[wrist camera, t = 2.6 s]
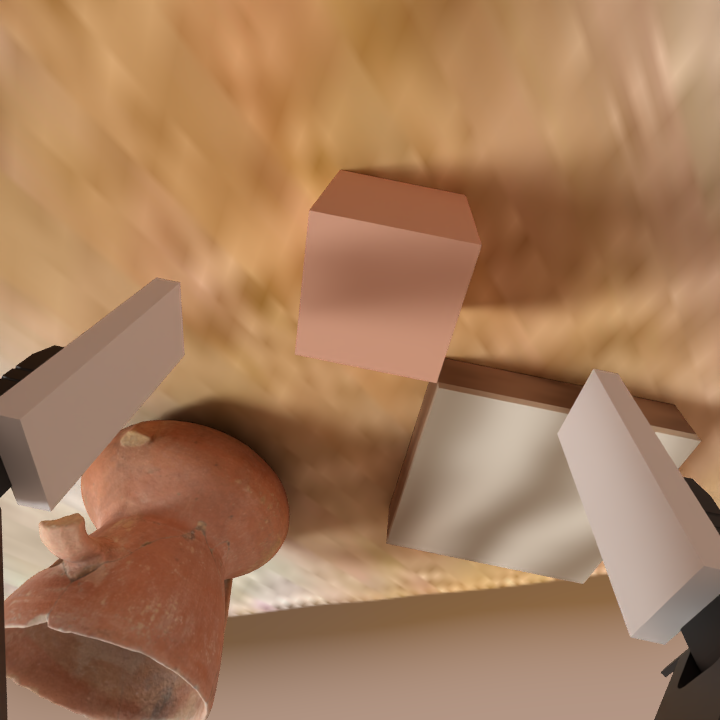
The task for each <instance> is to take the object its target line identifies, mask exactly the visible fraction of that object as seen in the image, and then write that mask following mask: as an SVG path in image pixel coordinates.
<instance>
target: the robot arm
mask: <svg viewBox="0 0 720 720" xmlns="http://www.w3.org/2000/svg"><path fill="white" fill-rule="evenodd" d="M184 355H185V354H184V338H183V322H182V305H181V289H180V282H175V281H170V280H165V279H161V278H155V279H154V280H153V281H151V282H150V283H149V284H147V285H146V286H145V287H143V288H142V289H141V290H139V291H138V292H137V293H135V294H134V295H133V296H132V297H130V298H129V299H128V300H126V301H125V302H124V303H122V304H121V305H120V306H118V307H117V308H116V309H114V310H113V311H112V312H110V313H109V314H108V315H107V316H105V317H104V318H103V319H101V320H100V321H99V322H97V323H96V324H95V325H93V326H92V327H91V328H89V329H88V330H87V331H86V332H84V333H83V334H82V335H80V336H79V337H78V338H76V339H75V340H74V341H72V342H71V343H70V344H68V345H67V346H66V347H60V346H55V345H54V346H52V347H49V348H47V349H44V350H42V351H39V352H37V353H34V354H32V355H31V356H29V357H28V358H26V359H25V360H24V361H22V362H21V363H19V364H18V365H17V366H16V368H15V369H13V368H12V369H11V370H10V371H8V372H7V373H6V374H4V375H3V376H2V378H1V379H0V497H1V496H2V495H3V494H4V493H5V492H6V491H7V490H8V489H9V488H10V487H11V489H12V491H13V494H14V496H15V499H16V501H17V504H18V505H23V506H27V507H32V508H36V509H41V510H46V511H50V512H51V511H52V510H53V509H54V507H55V506H56V505H57V504H58V503H59V502H60V500H61V499H62V498H63V497H64V496H65V495H66V493H67V492H68V491H69V490H70V489H71V488H72V486H73V485H74V484H75V483H76V482H77V481H78V479H79V478H80V477H81V476H82V475H83V473H84V472H85V471H86V470H87V469H88V468H89V466H90V465H91V464H92V463H93V462H94V461H95V459H96V458H97V457H98V456H99V455H100V454H101V452H102V451H103V450H104V449H105V448H106V447H107V445H108V444H109V443H110V442H111V441H112V440H113V438H114V437H115V436H116V435H117V434H118V433H119V431H120V430H121V429H122V428H123V427H124V425H125V424H126V423H127V422H128V421H129V420H130V418H131V417H132V416H133V415H134V414H135V413H136V411H137V410H138V409H139V408H140V407H141V406H142V404H143V403H144V402H145V401H146V400H147V399H148V397H149V396H150V395H151V394H152V393H153V392H154V390H155V389H156V388H157V387H158V386H159V385H160V383H161V382H162V381H163V380H164V379H165V378H166V376H167V375H168V374H169V373H170V372H171V370H172V369H173V368H174V367H175V366H176V365H177V363H178V362H179V361H180V360H181V359H182V358H183V356H184ZM557 434H558V437H559V440H560V443H561V446H562V448H563V451H564V454H565V457H566V459H567V462H568V465H569V468H570V471H571V473H572V476H573V479H574V482H575V484H576V487H577V490H578V493H579V496H580V498H581V501H582V504H583V507H584V509H585V512H586V515H587V518H588V521H589V523H590V526H591V529H592V532H593V534H594V537H595V540H596V543H597V546H598V548H599V551H600V554H601V557H602V559H603V562H604V565H605V568H606V571H607V573H608V576H609V579H610V581H611V584H612V587H613V590H614V593H615V596H616V598H617V601H618V604H619V607H620V609H621V612H622V615H623V618H624V621H625V623H626V626H627V629H628V632H629V634H630V637H632V638H637V639H641V640H646V641H651V642H655V643H660V644H664V645H665V644H666V643H667V642H668V641H670V640H671V639H672V638H673V637H674V636H675V635H677V634H678V633H679V632H680V631H682V634H683V636H684V638H685V640H686V642H687V645H688V647H689V648H688V649H687V650H686V651H685V652H684V653H682V654H681V655H680V656H679V657H678V658H676V659H675V660H674V661H673V662H672V663H670V664H669V665H668V666H667V667H666V668H665V669H664V670H663V671H662V672H661V673H662V674H663V675H664V676H665V677H667V676H668V675H669V674H670V673H672V672H673V675H672V677H671V680H670V682H669V685H668V687H667V690H666V692H665V695H664V697H663V699H662V702H661V705H660V707H659V709H658V712H657V714H656V717H655V719H654V720H720V509H719V508H718V506H717V505H716V503H715V502H714V500H713V499H712V497H711V496H710V495H709V494H708V493H707V492H706V491H705V490H704V489H702V488H701V487H700V486H699V485H698V484H697V483H696V482H695V481H694V480H693V479H691V478H686V477H683V476H682V475H681V473H680V471H679V470H678V468H677V467H676V465H675V463H674V462H673V460H672V459H671V457H670V456H669V454H668V452H667V451H666V449H665V448H664V446H663V444H662V443H661V441H660V440H659V438H658V437H657V435H656V433H655V432H654V430H653V429H652V427H651V425H650V424H649V422H648V421H647V419H646V418H645V416H644V414H643V413H642V411H641V410H640V408H639V406H638V405H637V403H636V402H635V400H634V399H633V397H632V395H631V394H630V392H629V391H628V389H627V387H626V386H625V384H624V383H623V381H622V380H621V378H620V376H619V375H618V374H616V373H612V372H607V371H602V370H597V369H593V370H592V372H591V374H590V376H589V378H588V379H587V381H586V383H585V385H584V387H583V388H582V390H581V392H580V394H579V396H578V397H577V399H576V401H575V403H574V405H573V406H572V408H571V410H570V412H569V414H568V415H567V417H566V419H565V421H564V423H563V424H562V426H561V428H560V430H559V432H558V433H557ZM0 720H7V692H6V655H5V621H4V587H3V553H2V519H1V508H0Z"/></svg>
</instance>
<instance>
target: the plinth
mask: <svg viewBox="0 0 720 720" xmlns="http://www.w3.org/2000/svg"><path fill="white" fill-rule="evenodd" d="M583 387H584V386H579V385H574V384H569V383H564V382H559V381H554V380H549V379H544V378H539V377H535V376H530V375H525V374H520V373H515V372H510V371H505V370H500V369H495V368H490V367H485V366H480V365H475V364H471V363H466V362H461V361H456V360H451V359H446V358H445V359H444V362H443V365H442V368H441V371H440V374H439V377H438V380H437V383H433V382H429V384H428V387H427V390H426V393H425V396H424V400H423V403H422V406H421V409H420V412H419V415H418V419H417V422H416V425H415V428H414V431H413V434H412V437H411V441H410V444H409V447H408V450H407V453H406V456H405V460H404V463H403V466H402V469H401V472H400V475H399V478H398V482H397V485H396V488H395V491H394V494H393V497H392V501H391V504H390V507H389V516H388V529H387V543H386V544H391V545H396V546H401V547H406V548H411V549H416V550H421V551H426V552H430V553H435V554H440V555H445V556H450V557H455V558H460V559H465V560H469V561H474V562H479V563H484V564H489V565H494V566H499V567H504V568H508V569H513V570H518V571H523V572H528V573H533V574H538V575H543V576H547V577H552V578H557V579H562V580H567V581H572V582H577V583H582V584H583V583H584V582H585V581H586V580H587V579H588V577H589V576H590V575H591V574H592V573H593V571H594V570H595V569H596V568H597V567H598V565H599V564H600V563H601V562H602V561H603V559H602V557H601V554H600V551H599V548H598V546H597V543H596V540H595V537H594V534H593V532H592V529H591V526H590V523H589V521H588V518H587V515H586V512H585V509H584V507H583V504H582V501H581V498H580V496H579V493H578V490H577V487H576V484H575V482H574V479H573V476H572V473H571V471H570V468H569V465H568V462H567V459H566V457H565V454H564V451H563V448H562V446H561V443H560V440H559V437H558V434H557V433H558V432H559V430H560V428H561V426H562V424H563V423H564V421H565V419H566V417H567V415H568V414H569V412H570V410H571V408H572V406H573V405H574V403H575V401H576V399H577V397H578V396H579V394H580V392H581V390H582V388H583ZM632 397H633V396H632ZM633 399H634V400H635V402H636V403H637V405H638V406H639V408H640V410H641V411H642V413H643V414H644V416H645V418H646V419H647V421H648V422H649V424H650V425H651V427H652V429H653V430H654V432H655V433H656V435H657V437H658V438H659V440H660V441H661V443H662V444H663V446H664V448H665V449H666V451H667V452H668V454H669V456H670V457H671V459H672V460H673V462H674V463H675V465H676V467H677V468H678V469H679V467H680V466H681V465H682V464H683V463H684V461H685V460H686V459H687V458H688V457H689V455H690V454H691V453H692V452H693V451H694V449H695V448H696V447H697V446H698V444H699V443H700V442H701V440H700V439H699V437H698V436H697V435H696V433H695V432H694V431H693V429H692V428H691V427H690V425H689V424H688V422H687V421H686V420H685V418H684V417H683V416H682V414H681V413H680V412H679V410H678V409H677V407H676V406H675V405H672V404H668V403H663V402H658V401H653V400H648V399H643V398H638V397H633Z"/></svg>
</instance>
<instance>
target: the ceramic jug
mask: <svg viewBox="0 0 720 720" xmlns="http://www.w3.org/2000/svg"><path fill="white" fill-rule="evenodd" d="M81 493H82V498H83V502H84V505H85V508H86V510H87V513H88V515H89V517H90V519H91V521H92V522H93V524H94V525H95V527H96V529H97V530H96V531H95V532H93V533H92V534H90V535H89V536H88V534H87V533H86V530H85V521H84V518H83V517H82V516H81V515H80V514H79V513H76V514H72V515H70V516H65V517H63V518H60V519H57V520H52V521H41V522H40V523H39V533H40V538H41V541H42V542H43V543H44V544H45V545H46V547H47V548H48V549H49V551H50V552H51V553H53V554H54V555H56V556H57V557H58V558H59V559H58V560H57V561H56V562H55V563H54V564H53V565H51V566H50V567H49V568H47V569H44V570H43V571H41V572H38V573H37V574H36V575H34V576H33V577H31V578H30V579H28V580H27V581H26V582H25V583H24V584H23V585H21V586H20V587H19V588H18V589H17V590H16V591H14V592H13V593H12V594H11V595H10V596H9V597H8V598H7V599H6V600H5V601H4V621H5V655H6V677H7V678H11V679H12V680H13V681H14V683H16V684H17V685H19V686H22V687H26V688H28V689H29V690H31V691H32V692H34V693H35V694H37V695H38V696H40V697H41V698H43V699H47V700H49V701H50V702H51V703H54V704H57V705H59V706H61V707H63V708H66V709H68V710H70V711H72V712H74V713H76V714H80V715H82V716H84V717H86V718H88V719H91V720H206V719H207V718H208V716H209V713H210V711H211V708H212V705H213V701H214V696H215V692H216V687H217V682H218V676H219V671H220V664H221V657H222V649H223V640H224V631H225V627H226V622H227V617H228V609H229V603H230V595H231V587H232V579H233V578H235V577H239V576H242V575H245V574H248V573H250V572H252V571H254V570H256V569H258V568H260V567H261V566H263V565H264V564H265V563H267V562H268V561H269V560H270V559H271V558H273V557H274V555H275V554H276V553H277V552H278V550H279V549H280V548H281V546H282V544H283V542H284V540H285V538H286V535H287V532H288V527H289V505H288V499H287V496H286V493H285V490H284V488H283V486H282V484H281V482H280V480H279V478H278V476H277V475H276V474H275V472H274V471H273V470H272V468H271V467H270V466H269V465H268V464H267V463H266V462H265V461H264V460H263V459H262V458H261V457H260V456H259V455H258V454H257V453H256V452H254V451H253V450H252V449H251V448H250V447H248V446H247V445H246V444H244V443H242V442H241V441H239V440H237V439H236V438H234V437H232V436H230V435H228V434H226V433H223V432H221V431H219V430H216V429H213V428H210V427H207V426H203V425H199V424H195V423H190V422H184V421H176V420H154V421H145V422H140V423H138V424H135V425H131V426H129V427H127V428H124V429H122V430H120V431H119V433H118V434H117V435H116V436H115V437H114V438H113V440H112V441H111V442H110V443H109V444H108V445H107V447H106V448H105V449H104V450H103V451H102V452H101V454H100V455H99V456H98V457H97V458H96V459H95V461H94V462H93V463H92V464H91V465H90V466H89V468H88V469H87V470H86V471H85V472H84V473H83V475H82V478H81Z"/></svg>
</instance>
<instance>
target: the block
mask: <svg viewBox="0 0 720 720" xmlns="http://www.w3.org/2000/svg"><path fill="white" fill-rule="evenodd" d="M481 247H482V244H481V241H480V238H479V235H478V231H477V228H476V225H475V222H474V219H473V216H472V213H471V210H470V207H469V203H468V200H467V197H466V195H463V194H458V193H453V192H448V191H443V190H438V189H433V188H428V187H423V186H418V185H413V184H408V183H403V182H398V181H394V180H389V179H384V178H379V177H374V176H369V175H364V174H359V173H354V172H349V171H344V170H340V171H339V172H338V173H337V175H336V176H335V177H334V179H333V180H332V181H331V183H330V184H329V185H328V186H327V188H326V189H325V190H324V192H323V193H322V194H321V196H320V197H319V198H318V200H317V201H316V202H315V203H314V205H313V206H312V207H311V209H310V210H309V218H308V228H307V238H306V248H305V258H304V268H303V279H302V289H301V299H300V309H299V319H298V329H297V339H296V349H295V355H300V356H305V357H310V358H315V359H320V360H325V361H330V362H335V363H340V364H345V365H349V366H354V367H359V368H364V369H369V370H374V371H379V372H384V373H389V374H394V375H399V376H404V377H408V378H413V379H418V380H423V381H428V382H433V383H437V380H438V377H439V374H440V371H441V368H442V365H443V362H444V359H445V356H446V353H447V350H448V347H449V344H450V341H451V338H452V335H453V332H454V329H455V325H456V322H457V319H458V316H459V313H460V310H461V307H462V304H463V301H464V298H465V295H466V292H467V289H468V286H469V283H470V280H471V277H472V274H473V271H474V268H475V265H476V262H477V259H478V256H479V253H480V250H481Z"/></svg>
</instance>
